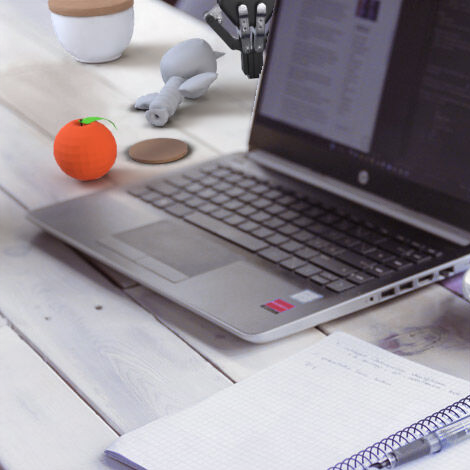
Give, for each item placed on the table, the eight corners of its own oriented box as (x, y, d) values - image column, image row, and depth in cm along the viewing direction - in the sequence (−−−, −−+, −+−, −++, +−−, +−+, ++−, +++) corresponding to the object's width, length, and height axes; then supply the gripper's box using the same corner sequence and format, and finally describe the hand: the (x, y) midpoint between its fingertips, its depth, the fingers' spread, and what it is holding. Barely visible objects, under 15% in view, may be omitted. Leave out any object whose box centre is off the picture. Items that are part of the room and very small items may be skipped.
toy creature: (100, 101, 121) (157, 34, 137) (128, 149, 125) (180, 78, 141) (184, 77, 117) (233, 10, 132) (210, 127, 120) (255, 57, 136)
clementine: (102, 157, 113) (95, 101, 110) (140, 173, 109) (133, 114, 106) (45, 179, 108) (35, 120, 104) (83, 196, 104) (74, 135, 100)
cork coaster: (120, 161, 112) (120, 158, 112) (141, 139, 118) (140, 136, 118) (177, 165, 111) (177, 162, 111) (195, 142, 117) (195, 139, 117)
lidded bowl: (146, 63, 145) (139, -10, 140) (62, 73, 141) (50, -2, 136) (131, 41, 156) (123, -28, 150) (51, 49, 151) (41, -21, 146)
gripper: (288, -59, 129) (292, 64, 137) (191, -53, 126) (201, 73, 134) (303, -48, 123) (305, 81, 131) (201, -42, 119) (210, 90, 127)
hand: (252, 76), depth 132 cm, fingers closed
